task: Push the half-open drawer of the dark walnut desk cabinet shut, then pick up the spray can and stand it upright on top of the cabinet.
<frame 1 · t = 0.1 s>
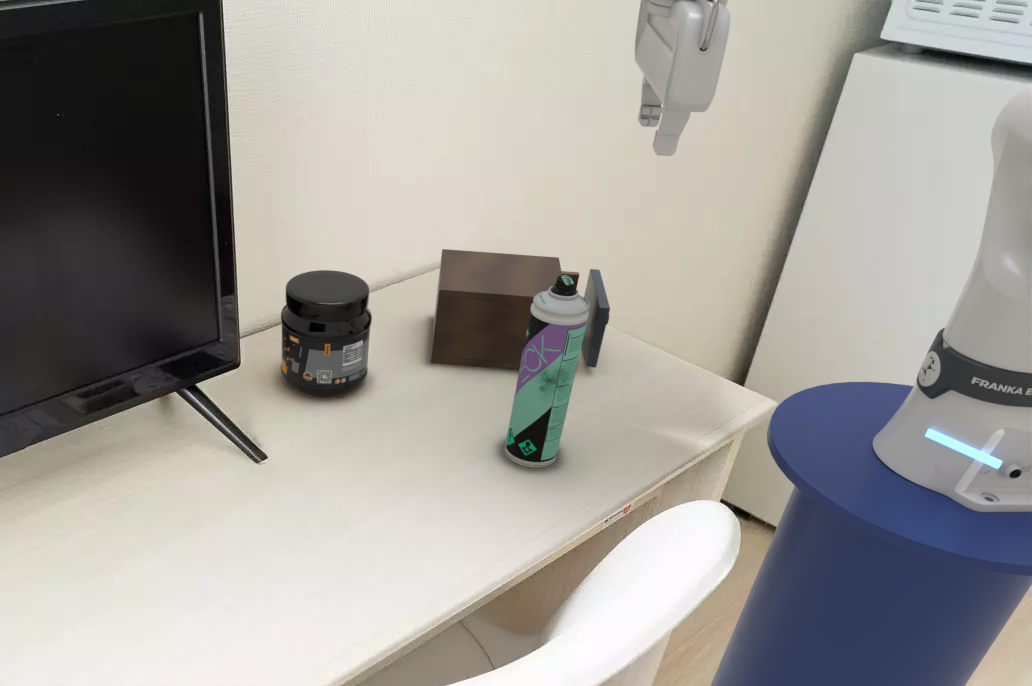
hand: (654, 138, 87), 31 cm above the table, tool pointing down, fingers open, 8 cm apart
cabinet: (489, 344, 120), on the table
spray can: (530, 455, 100), on the table
drawer: (547, 313, 117), point 5 cm above the table, slide at 4.0 cm
supplement container: (323, 380, 113), on the table
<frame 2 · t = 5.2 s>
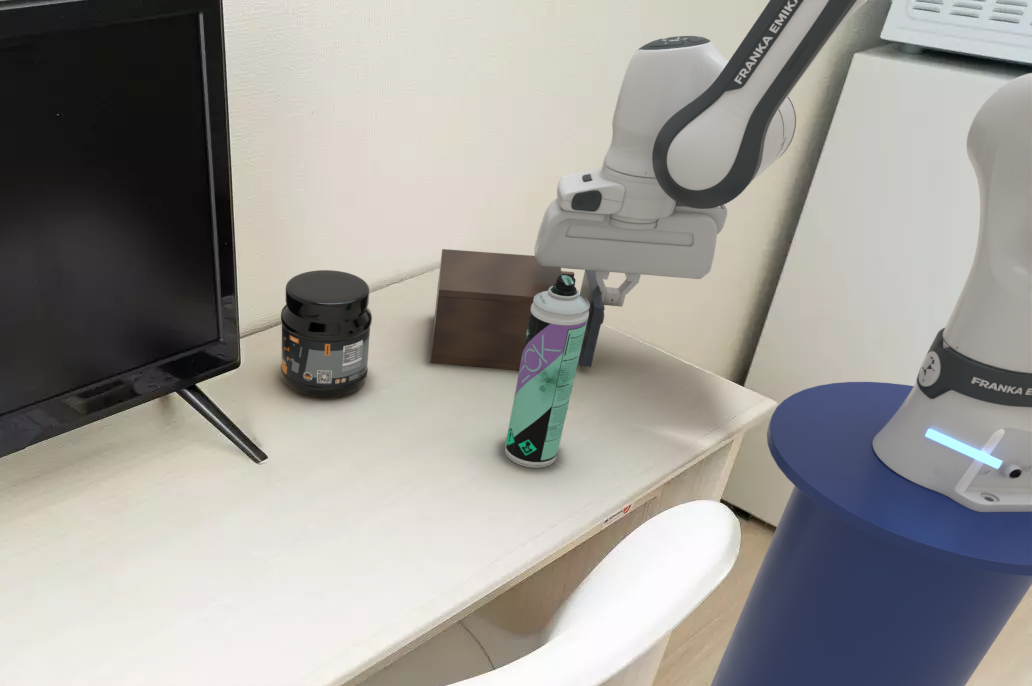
hand: (609, 304, 115), 7 cm above the table, tool pointing down, fingers closed
drawer: (542, 313, 117), point 5 cm above the table, slide at 3.4 cm, touching gripper
everything else where it was.
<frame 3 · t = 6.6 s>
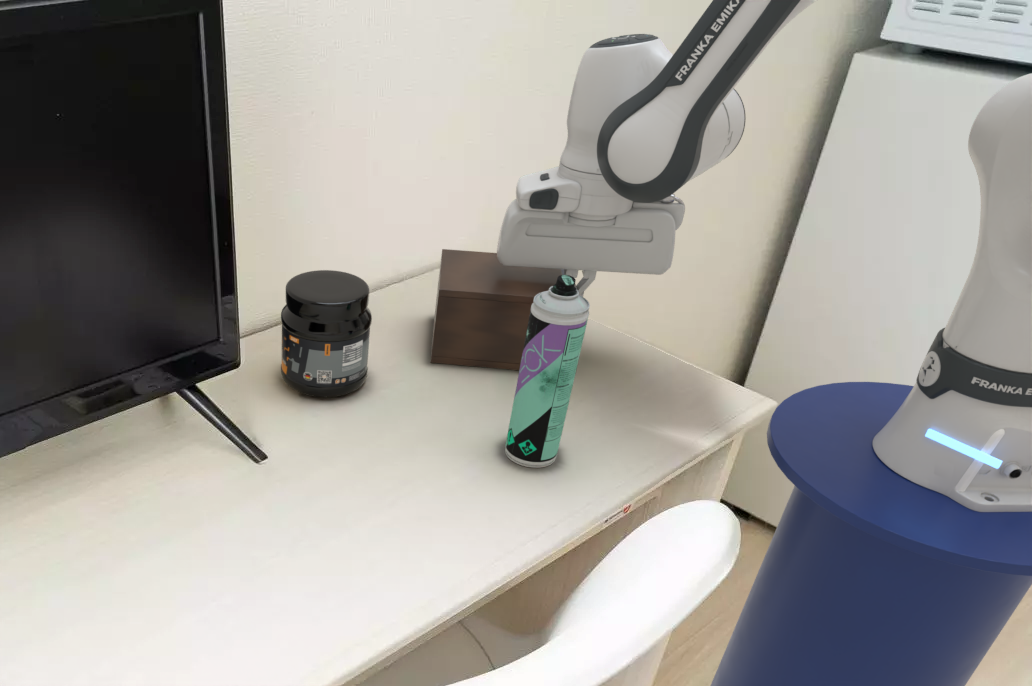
hand: (573, 302, 115), 7 cm above the table, tool pointing down, fingers closed, pressing on drawer
drawer: (514, 311, 117), point 5 cm above the table, slide at 0.0 cm, touching cabinet, gripper
everything else where it was.
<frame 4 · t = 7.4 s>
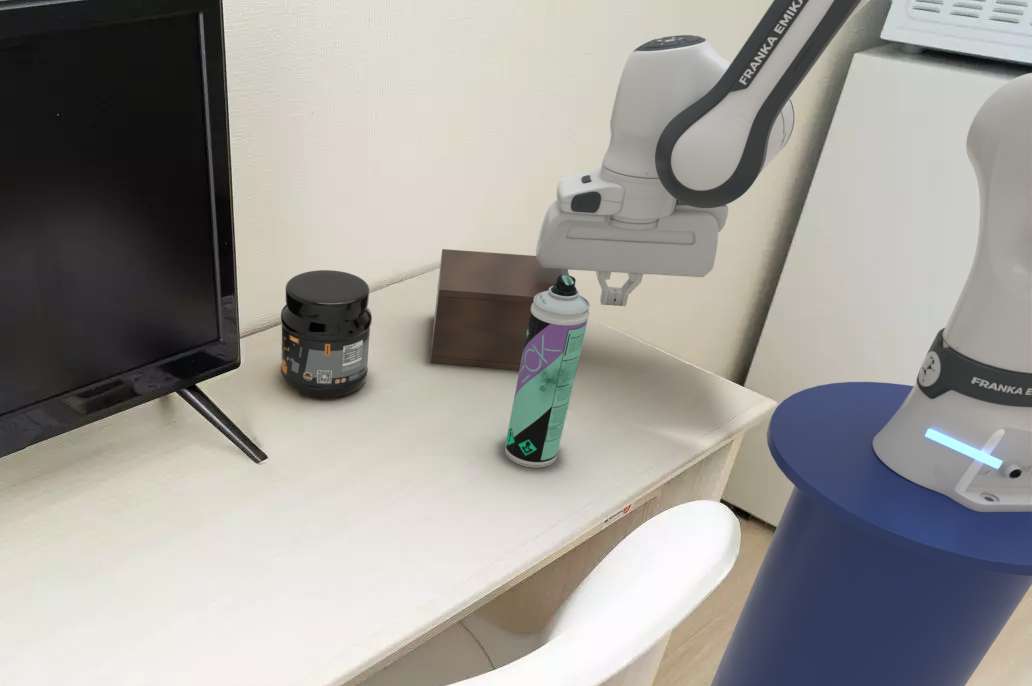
hand: (612, 303, 115), 7 cm above the table, tool pointing down, fingers closed
drawer: (514, 311, 117), point 5 cm above the table, slide at 0.0 cm, touching cabinet
everything else where it was.
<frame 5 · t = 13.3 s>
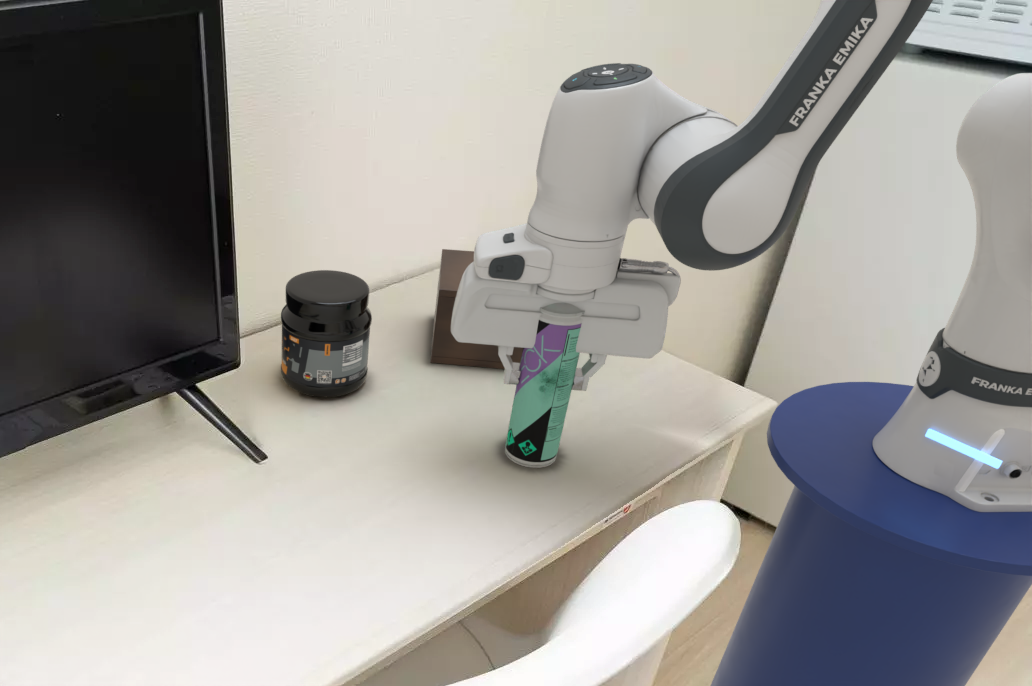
hand: (543, 384, 95), 8 cm above the table, tool pointing down, fingers closed on spray can, 5 cm apart
spray can: (530, 455, 100), on the table, touching arm, gripper
everything else where it was.
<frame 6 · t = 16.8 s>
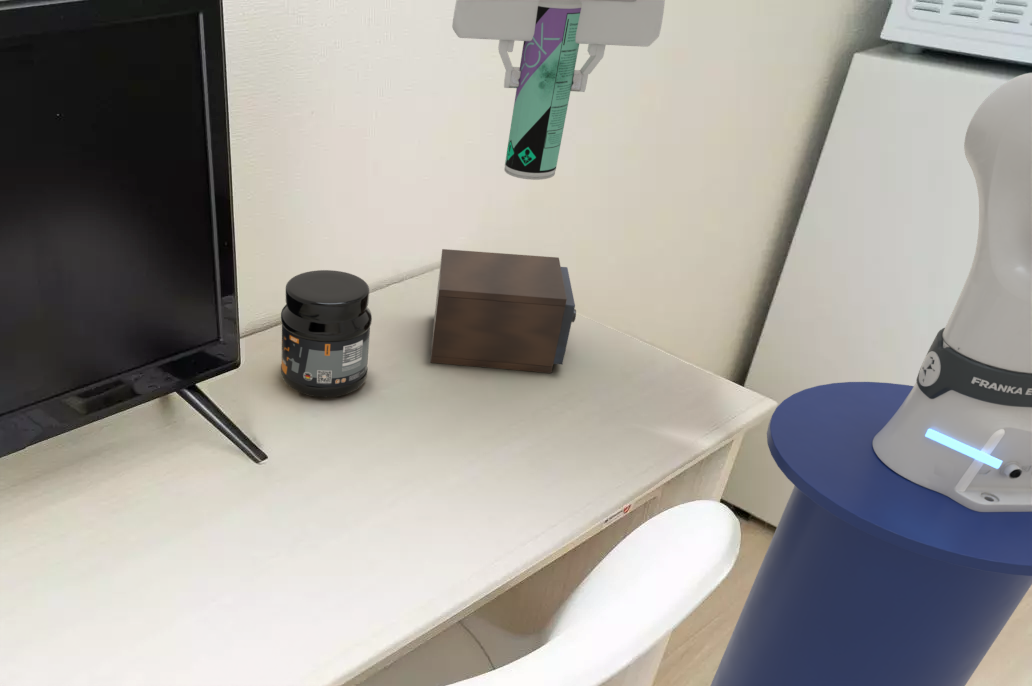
hand: (543, 88, 97), 32 cm above the table, tool pointing down, fingers closed on spray can, 5 cm apart
spray can: (529, 173, 102), point 24 cm above the table, touching arm, gripper
everything else where it was.
when the fingers open (18 cm above the table, at t = 20.9 s): spray can stays where it is, resting on cabinet.
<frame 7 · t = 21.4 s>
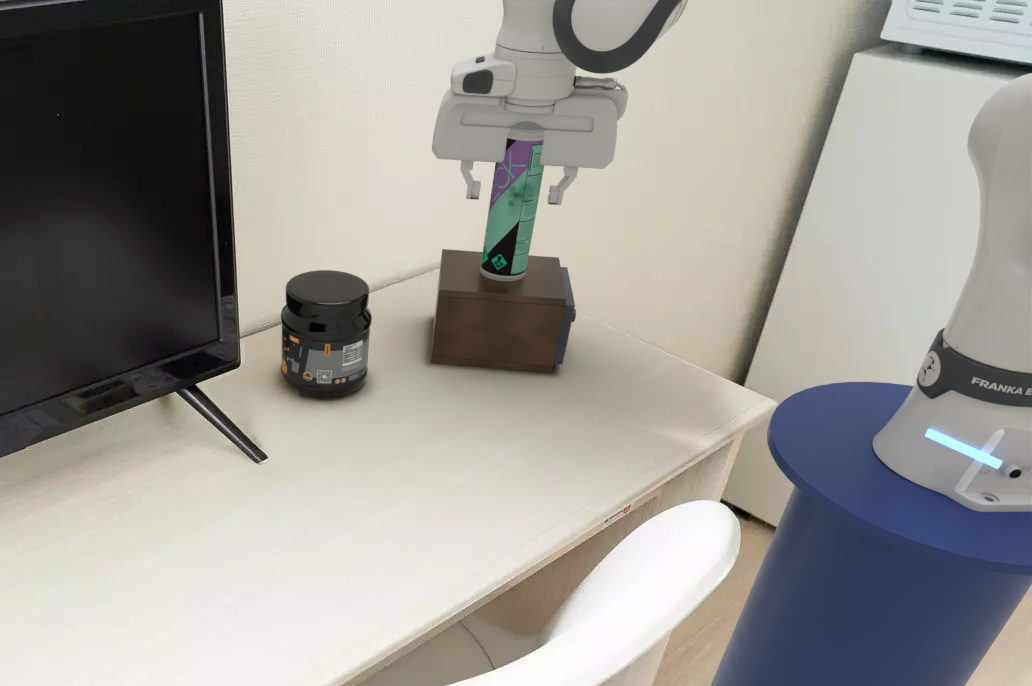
hand: (512, 200, 109), 19 cm above the table, tool pointing down, fingers open, 8 cm apart
spray can: (502, 274, 115), point 10 cm above the table, touching cabinet
everything else where it was.
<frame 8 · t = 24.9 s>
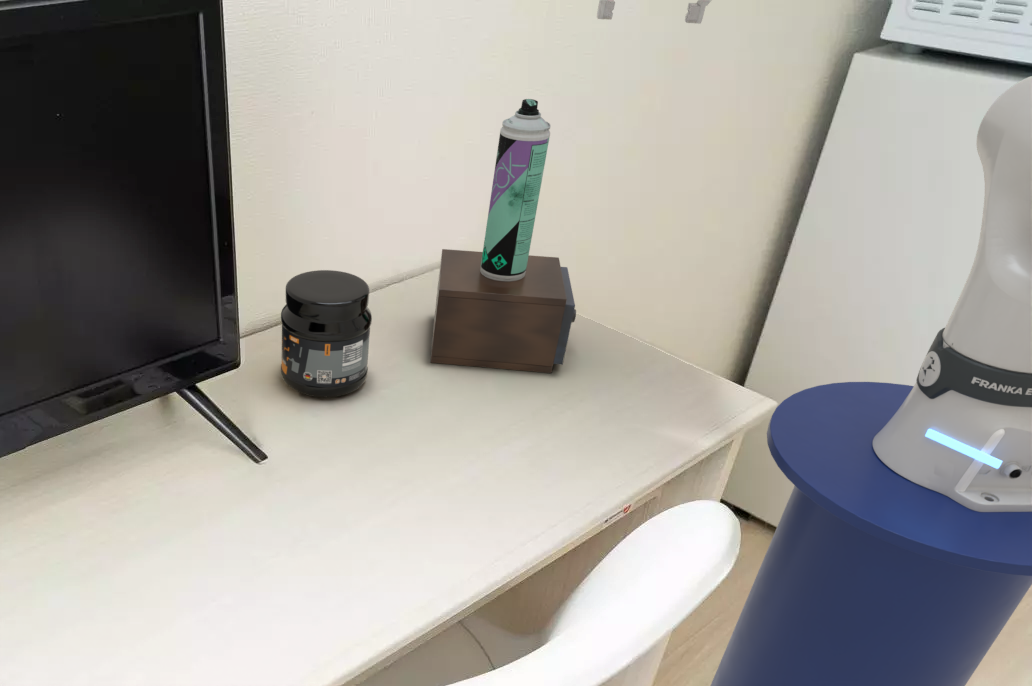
hand: (647, 20, 102), 37 cm above the table, tool pointing down, fingers open, 8 cm apart
nothing on the table moved.
at the end: drawer slide at 0.0 cm; spray can inside the target area on the cabinet (0.1 cm from its centre), point 9.6 cm above the cabinet's base; spray can tilted 0° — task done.
